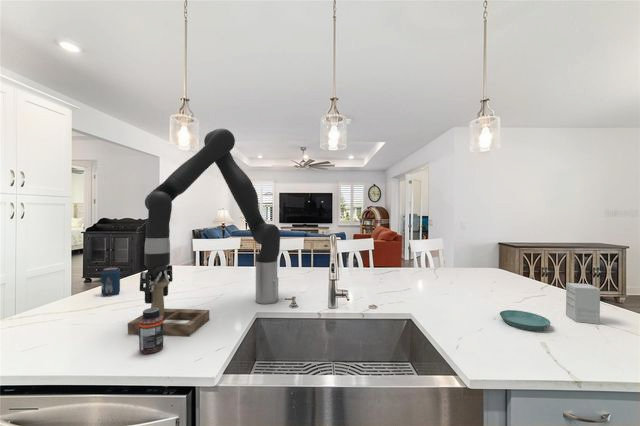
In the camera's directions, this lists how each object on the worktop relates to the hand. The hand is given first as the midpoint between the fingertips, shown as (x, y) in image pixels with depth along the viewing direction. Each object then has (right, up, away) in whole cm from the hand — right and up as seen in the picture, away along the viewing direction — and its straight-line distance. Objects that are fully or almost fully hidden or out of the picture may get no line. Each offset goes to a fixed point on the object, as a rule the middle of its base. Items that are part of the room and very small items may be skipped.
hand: (157, 299), depth 99 cm
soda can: (-41, -9, +36) cm, 55 cm away
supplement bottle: (+8, -10, -17) cm, 20 cm away
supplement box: (+151, -10, +9) cm, 151 cm away
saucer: (+126, -10, +4) cm, 127 cm away
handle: (0, -9, 0) cm, 9 cm away
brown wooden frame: (+5, -9, 0) cm, 10 cm away
